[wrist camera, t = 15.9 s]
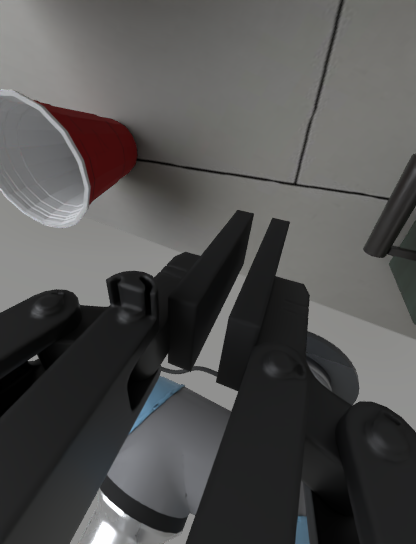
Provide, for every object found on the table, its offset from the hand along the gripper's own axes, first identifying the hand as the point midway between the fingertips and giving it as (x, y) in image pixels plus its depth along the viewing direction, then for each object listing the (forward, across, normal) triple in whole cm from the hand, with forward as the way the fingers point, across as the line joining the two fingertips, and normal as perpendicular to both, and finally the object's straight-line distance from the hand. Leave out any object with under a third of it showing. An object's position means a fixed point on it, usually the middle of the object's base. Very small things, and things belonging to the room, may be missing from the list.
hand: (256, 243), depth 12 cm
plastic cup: (+17, -20, -1) cm, 26 cm away
